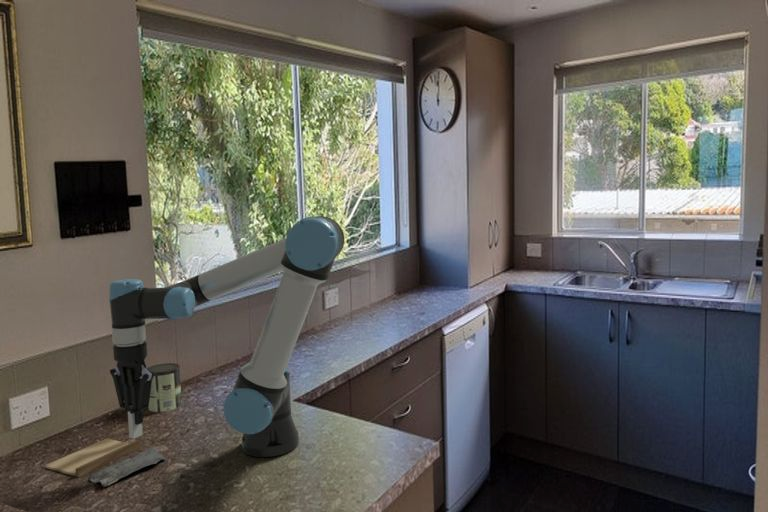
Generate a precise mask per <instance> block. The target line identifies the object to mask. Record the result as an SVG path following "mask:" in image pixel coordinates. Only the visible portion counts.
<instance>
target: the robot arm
mask: <svg viewBox="0 0 768 512" xmlns="http://www.w3.org/2000/svg"><path fill="white" fill-rule="evenodd" d="M344 246H345V234H344V230H343V229H342V227H341V225H340V224H339V223H338V222H337V221H336V220H335V219H333V218H331V217H328V216H323V215H319V216H308V217H307V216H306V217H304V218H302V219H299V221H297V222H295V224H293V225H292V226H291V228H290V229H289V230H288V233H287V234H286V238H284V239H281V240H279V241H276V242H274V243H272V244H268V245H267V246H264V247H262V248H260V249H259V248H258V249H257V250H255V251H253V252H250V253H248V254H247V253H246V254H245V255H242V256H240V257H238V258H235V259H233V260H231V261H228V262H226V263H224V264H222V265H218V266H215V268H212V269H209V270H207V271H204V272H202V273H200V274H198V275H195V276H192V277H191V278H187V279H185V280H183V281H180V282H177V283H174V284H171V285H169V286H165V287H145V286H144V282H143V280H141V279H138V278H127V279H117V280H113V281H112V282H111V283H110V284H109V299H108V301H109V307H110V317H111V337H112V338H111V339H112V343H113V344H114V345H113V346H112V349H113V351H112V352H113V353H112V354H113V359H114V360H115V362H116V367H114V368H112V369H110V370H109V373H110V375H111V377H112V380H113V384H114V388H115V393H116V397H117V402H118V405H119V408H121V409H122V408H123V409H124V411H126V418H127V419H126V422H127V424H128V436H129V439H133V440H134V439H136V438H138V437H141V436H143V421H144V418H143V417H144V416H143V411H144V410H146V409H149V408H148V407H149V400H150V392H151V383H152V379H153V377H154V372H149V371H148V370H147V369H146V368H147V364H146V362H145V359H146V357H148V343H147V342H146V340H147V333H146V331H147V330H146V329H147V328H146V320H149V319H150V320H151V319H152V320H153V319H157V320H159V319H161V320H163V319H164V320H165V319H168V320H170V319H171V320H172V319H173V320H178V319H187V318H190V317H191V316H192V315H193V312H194V311H195V308H197V307H199V306H202V305H204V304H206V303H209V302H210V301H213V300H215V299H218V298H220V297H223V296H225V295H227V294H230V293H232V292H235V291H237V290H239V289H242V288H245V287H247V286H249V285H252V284H254V283H255V284H256V283H257V282H259V281H262V280H264V279H267V278H269V277H270V278H271V277H272V276H275V275H277V274H279V273H283V275H282V277H281V279H280V282H279V285H278V286H277V289H276V293H275V296H274V297H273V300H272V303H271V306H270V309H269V311H268V313H267V317H266V319H265V322H264V323H263V327H262V330H261V333H260V335H259V338H258V341H257V343H256V346H255V349H254V351H253V354H252V356H251V359H250V361H249V362H247V363H246V364H244V365H242V366H241V368H240V371H239V372H238V375H237V378H236V381H235V384H234V386H233V389H232V390H231V391H230V392H229V393H228V395H226V397H225V400H224V402H223V407H222V409H223V416H224V419H225V420H226V421H227V422H226V423H227V424H228V426H229V427H231V429H234V430H235V432H237V433H240V434H242V438H241V450H242V452H243V453H244V454H246V455H248V456H251V457H257V458H259V457H260V458H269V457H277V456H281V455H284V454H287V453H289V452H292V451H293V450H295V449H296V448H297V447H298V446H299V443H300V438H299V437H300V436H299V435H300V434H299V432H298V430H297V428H296V425H295V422H294V419H293V416H292V405H291V404H292V403H291V402H292V401H291V399H292V398H291V379H290V377H291V376H290V374H291V371H290V366H289V362H290V359H291V356H292V353H293V351H294V348H295V347H296V344H297V340H298V338H299V336H300V333H301V332H302V331H301V330H302V329H303V325H304V324H305V320H306V318H307V315H308V312H309V310H310V307H311V304H312V302H313V300H314V297H315V294H316V291H317V288H318V286H319V285H320V284H322V283H325V282H327V280H328V278H329V275H330V273H331V270H332V268H333V265H334V263H335V260H336V258H337V257H338V256H339V255H340V254H341V252H342V250H343V248H344Z"/></svg>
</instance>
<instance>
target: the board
mask: <svg viewBox="0 0 768 512" xmlns="http://www.w3.org/2000/svg"><path fill="white" fill-rule="evenodd" d="M139 449H140V440H134V441H132V442H130V443H128V442H124V441H119V440H115V439H112V438H111V439H110V438H104V439H102V440H100V441H98V442H96V443H93V444H91V445H88V446H86V447H83V448H81V449H79V450H77V451H75V452H73V453H69V454H67V455H65V456H63V457H60V458H59V459H56V460H53V461H51V462H50V463H47V464H44V468H45V469H49V470H52V471H55V472H59V473H63V474H65V475H66V474H67V475H69V476H73V477H76V478H80V477H83V476H85V475H86V474H88V473H90V472H93V471H95V470H96V469H99V468H101V467H103V466H105V465H108V464H109V463H111V462H114V461H115V460H118V459H120V458H122V457H124V456H126V455H128V454H130V453H132V452H134V451H137V450H139Z"/></svg>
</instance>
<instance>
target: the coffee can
mask: <svg viewBox="0 0 768 512" xmlns="http://www.w3.org/2000/svg"><path fill="white" fill-rule="evenodd" d="M180 366H181V365H180V364H178V363H174V362H172V363H171V362H169V363H168V362H166V363H160V364H159V363H158V364H153V365H151V366H149V367H146V369H147V370H148V371H149V372H154V377H153V379H152V383H151V392H150V400H149V407H148V408H147V409H148V411H150V412H154V413H164V412H169V411H173V410H175V409H178V408H179V407H180V406H182V402H183V401H182V389H181V373H180V372H181V370H180Z"/></svg>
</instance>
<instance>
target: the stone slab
mask: <svg viewBox="0 0 768 512" xmlns="http://www.w3.org/2000/svg"><path fill="white" fill-rule="evenodd" d="M161 460H163V461H165V460H166V458H165V456H164V455H163V454H161V452H159V451H158V450H157V449H156V447H155V446H150V447H149V448H147V449H145V450H143V451H142V452H140V453H138V454H136V455H135V456H133V457H131V458H126V459H124V460H122V461H121V462H118V463H115V464H112V465H110V466H108V467H106V468H103V469H101V470H99V471H98V472H95V473H94V474H91V475H90V477H89V481H90V482H91V483H92V484H97V483H100V485H101V486H102V487H104V488H105V487H108V486H110V485H112V484H113V483H116V482H118V481H119V480H121V479H122V478H125V477H127V476H129V475H130V474H132V473H134V472H136V471H139V470H141V469H143V468H145V467H148V466H150V465H157V464H158V462H160V461H161Z"/></svg>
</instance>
